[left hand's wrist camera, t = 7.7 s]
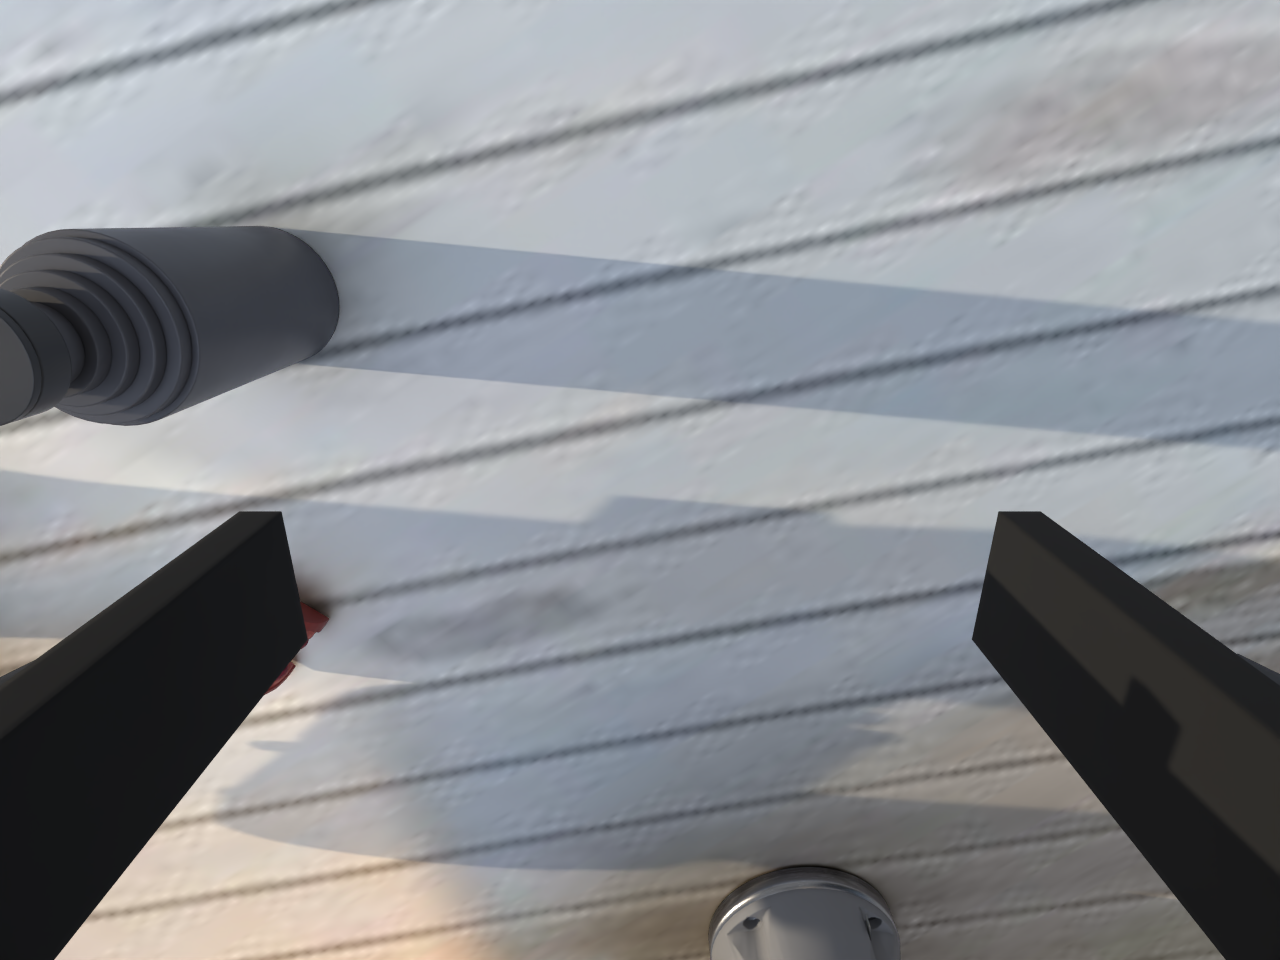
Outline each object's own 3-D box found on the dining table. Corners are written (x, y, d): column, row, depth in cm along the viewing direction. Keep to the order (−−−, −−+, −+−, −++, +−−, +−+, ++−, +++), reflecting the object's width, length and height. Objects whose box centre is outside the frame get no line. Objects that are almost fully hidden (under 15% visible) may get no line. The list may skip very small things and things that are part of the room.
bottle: (241, 375, 40) (-60, 493, 23) (180, 245, 37) (-212, 266, 20) (359, 345, 39) (142, 442, 22) (306, 210, 36) (13, 201, 19)
